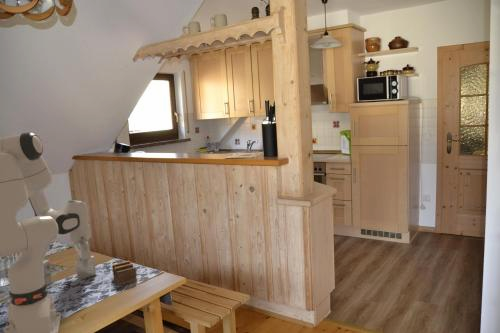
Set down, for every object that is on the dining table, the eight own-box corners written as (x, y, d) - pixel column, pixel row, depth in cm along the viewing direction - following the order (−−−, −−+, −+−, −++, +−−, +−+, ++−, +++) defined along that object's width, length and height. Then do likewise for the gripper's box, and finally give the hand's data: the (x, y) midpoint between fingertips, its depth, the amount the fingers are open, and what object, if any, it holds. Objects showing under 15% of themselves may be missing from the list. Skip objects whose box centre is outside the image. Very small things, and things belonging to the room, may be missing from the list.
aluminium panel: (96, 275, 191) (94, 257, 189) (77, 280, 187) (75, 261, 185) (95, 273, 193) (93, 255, 191) (77, 278, 189) (74, 259, 187)
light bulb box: (40, 281, 187) (36, 259, 185) (52, 282, 186) (49, 259, 184) (22, 292, 177) (19, 268, 175) (36, 293, 175) (32, 269, 174)
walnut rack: (136, 280, 183) (135, 266, 182) (118, 285, 179) (117, 271, 178) (131, 273, 191) (129, 260, 190) (113, 278, 187) (112, 264, 186)
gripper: (92, 239, 179) (95, 269, 182) (83, 227, 197) (86, 255, 199) (77, 242, 176) (80, 272, 179) (69, 230, 193) (72, 258, 196)
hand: (83, 263), depth 189 cm, fingers open, 8 cm apart
